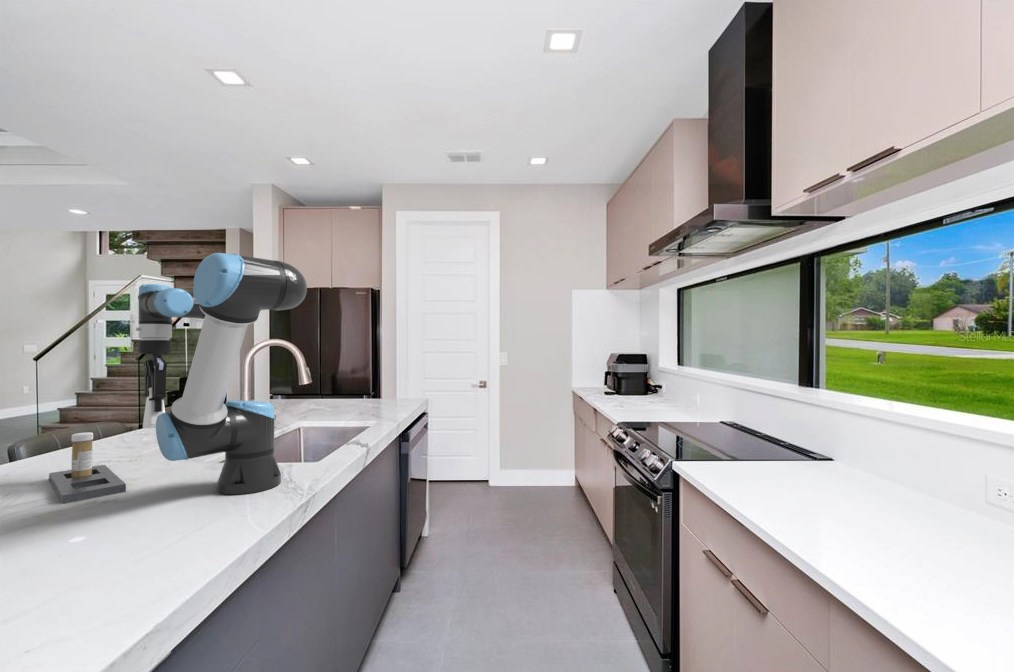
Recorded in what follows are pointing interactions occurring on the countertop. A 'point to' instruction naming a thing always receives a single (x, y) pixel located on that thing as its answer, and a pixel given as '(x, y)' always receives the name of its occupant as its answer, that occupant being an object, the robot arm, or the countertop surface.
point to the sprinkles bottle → (82, 454)
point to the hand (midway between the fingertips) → (154, 422)
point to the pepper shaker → (149, 412)
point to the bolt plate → (86, 484)
